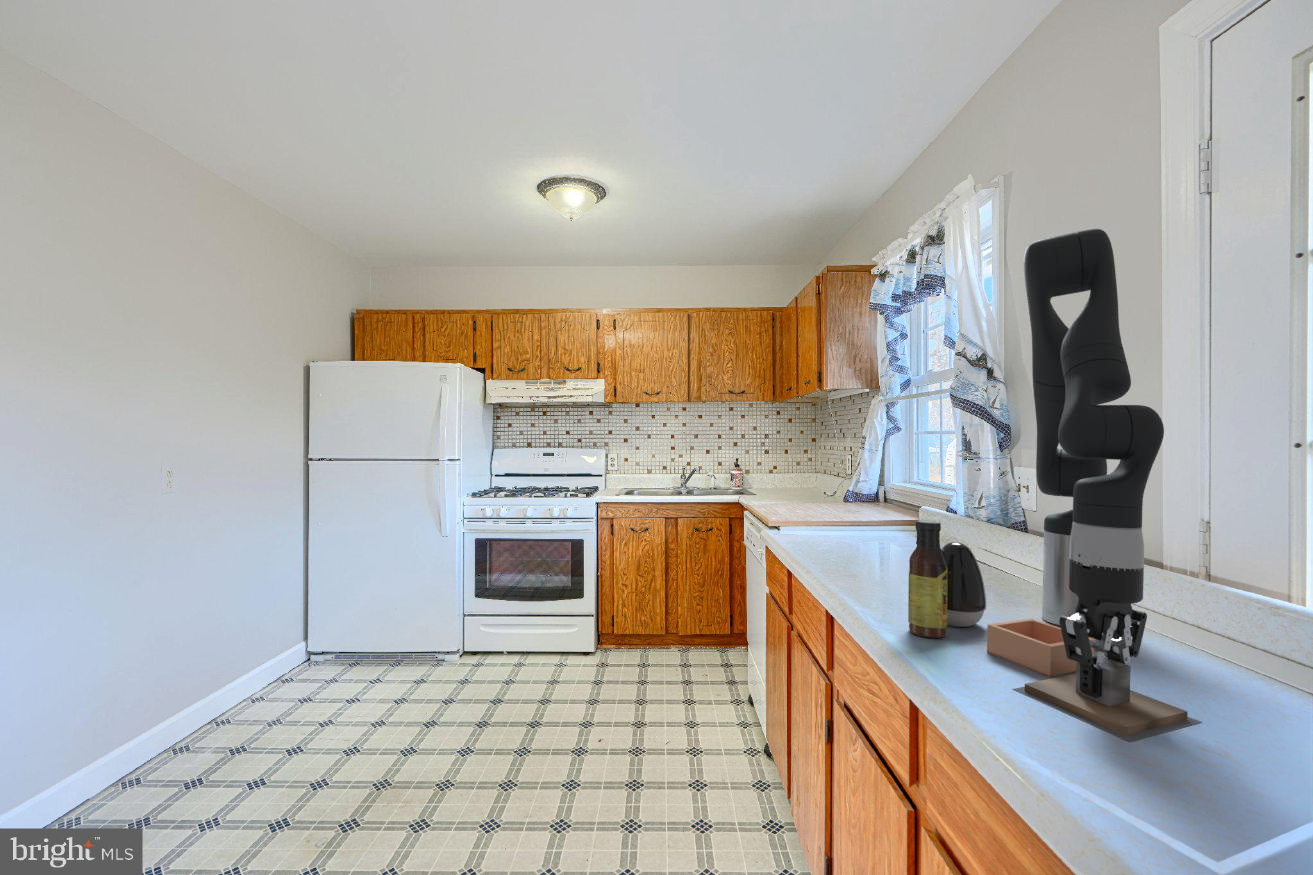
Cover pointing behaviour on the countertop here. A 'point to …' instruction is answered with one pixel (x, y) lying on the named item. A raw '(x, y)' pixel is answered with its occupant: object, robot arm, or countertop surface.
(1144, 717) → the lid
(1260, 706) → the countertop surface
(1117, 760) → the countertop surface
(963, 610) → the black egg-shaped device
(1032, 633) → the terracotta storage tray
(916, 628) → the sauce bottle
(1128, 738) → the mat
